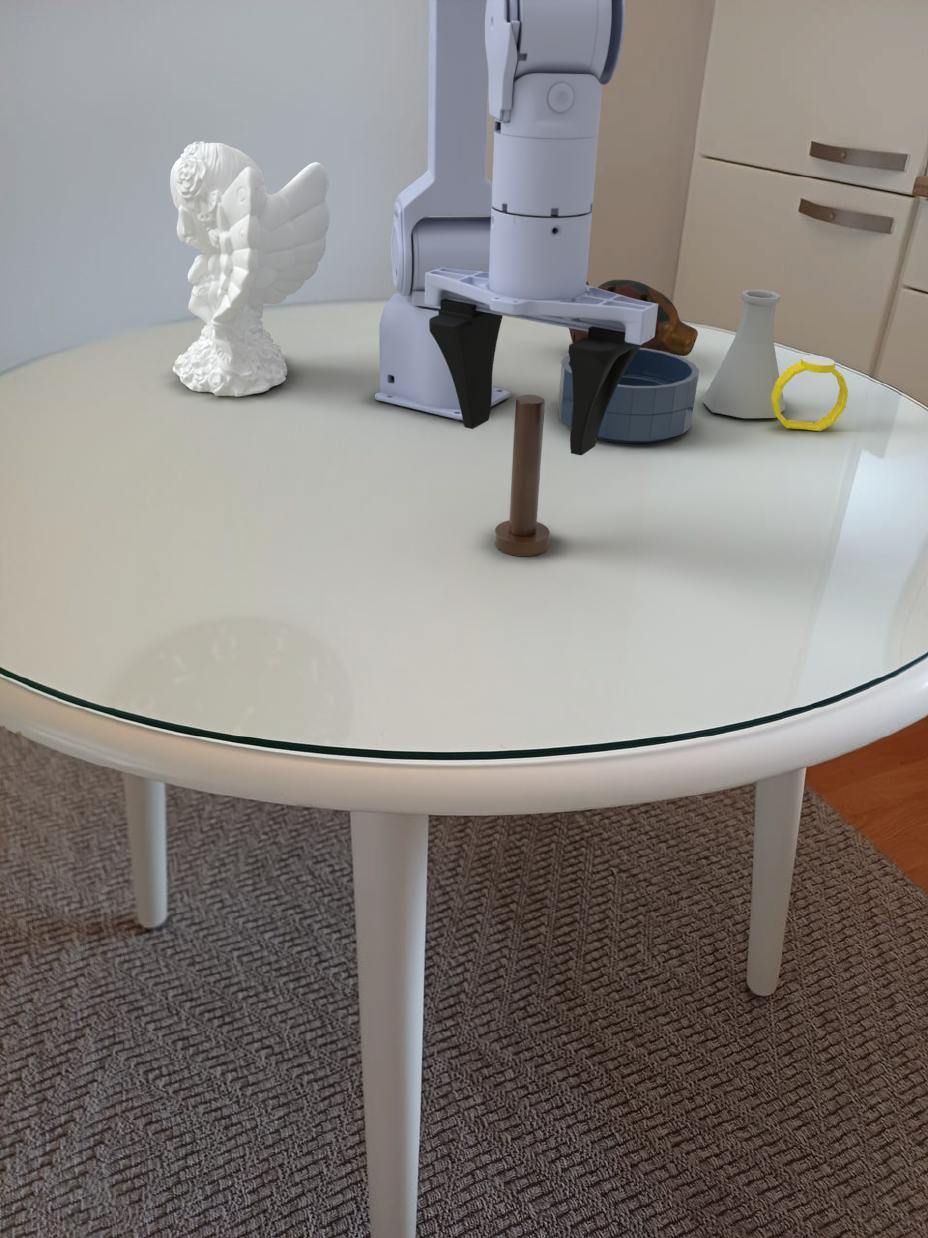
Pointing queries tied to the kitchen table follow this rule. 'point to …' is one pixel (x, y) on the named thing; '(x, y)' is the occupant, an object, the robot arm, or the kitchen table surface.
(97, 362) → the kitchen table surface
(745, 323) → the flask
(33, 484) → the kitchen table surface
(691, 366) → the bowl
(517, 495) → the brown wooden pestle
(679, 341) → the decorative turtle
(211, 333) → the cherub figurine
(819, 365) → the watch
